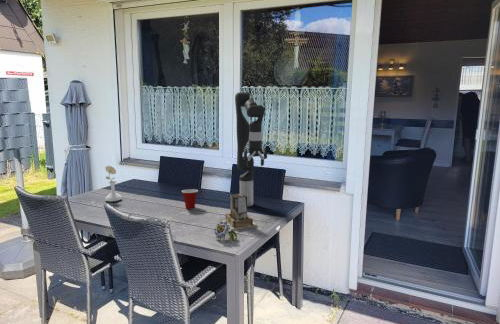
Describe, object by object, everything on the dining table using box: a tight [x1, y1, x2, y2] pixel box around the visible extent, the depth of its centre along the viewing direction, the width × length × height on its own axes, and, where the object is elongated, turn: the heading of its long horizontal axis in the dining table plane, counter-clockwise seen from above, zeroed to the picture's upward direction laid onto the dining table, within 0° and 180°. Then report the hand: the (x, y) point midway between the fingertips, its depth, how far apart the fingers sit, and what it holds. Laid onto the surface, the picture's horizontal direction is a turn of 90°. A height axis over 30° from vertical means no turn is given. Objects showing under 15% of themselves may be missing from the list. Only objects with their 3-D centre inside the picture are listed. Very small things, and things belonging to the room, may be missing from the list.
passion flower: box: [212, 220, 240, 243], centre depth 191 cm, size 11×11×12 cm
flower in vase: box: [104, 165, 123, 203], centre depth 260 cm, size 13×11×25 cm
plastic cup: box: [181, 188, 199, 210], centre depth 243 cm, size 11×11×12 cm
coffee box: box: [229, 192, 248, 221], centre depth 212 cm, size 9×6×16 cm
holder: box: [221, 213, 258, 231], centre depth 213 cm, size 16×16×4 cm
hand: (255, 166), depth 220 cm, fingers open, 8 cm apart
